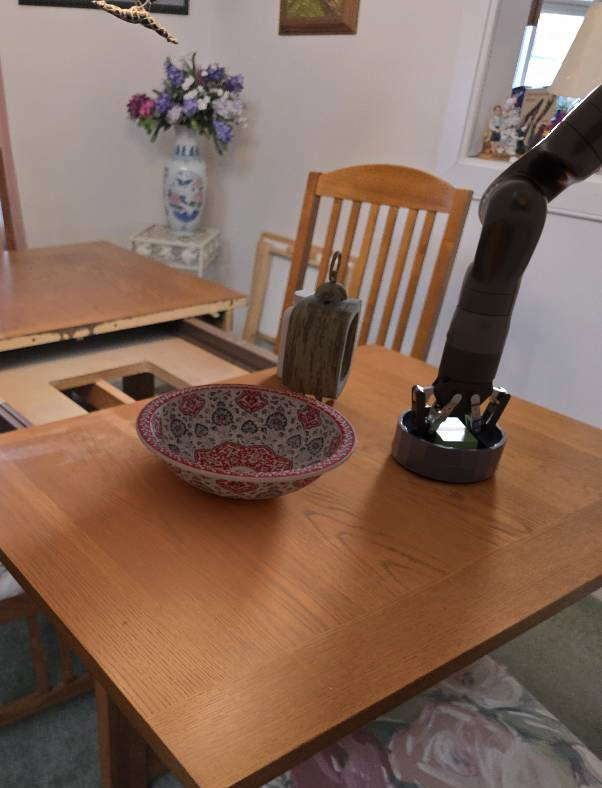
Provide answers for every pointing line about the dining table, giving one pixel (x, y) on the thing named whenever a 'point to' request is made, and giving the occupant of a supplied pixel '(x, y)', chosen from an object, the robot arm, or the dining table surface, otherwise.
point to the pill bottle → (296, 298)
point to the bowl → (447, 452)
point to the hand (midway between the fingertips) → (444, 454)
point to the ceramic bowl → (245, 438)
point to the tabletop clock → (321, 340)
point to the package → (454, 435)
